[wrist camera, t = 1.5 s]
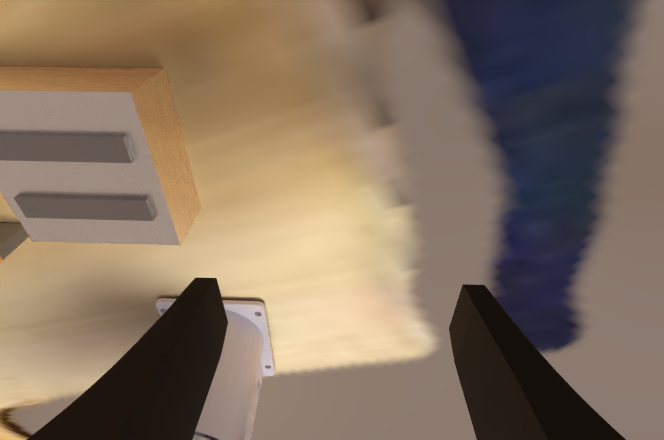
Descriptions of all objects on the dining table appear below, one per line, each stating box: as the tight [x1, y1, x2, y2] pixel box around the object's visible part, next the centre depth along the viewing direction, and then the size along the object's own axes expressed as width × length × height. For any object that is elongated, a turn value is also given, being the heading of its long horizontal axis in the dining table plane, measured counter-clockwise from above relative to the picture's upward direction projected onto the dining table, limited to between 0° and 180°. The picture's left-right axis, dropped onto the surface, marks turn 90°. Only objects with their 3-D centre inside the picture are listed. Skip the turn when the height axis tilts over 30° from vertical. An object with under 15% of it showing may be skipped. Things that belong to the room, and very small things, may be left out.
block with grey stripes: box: [0, 66, 201, 245], centre depth 18 cm, size 8×8×4 cm
